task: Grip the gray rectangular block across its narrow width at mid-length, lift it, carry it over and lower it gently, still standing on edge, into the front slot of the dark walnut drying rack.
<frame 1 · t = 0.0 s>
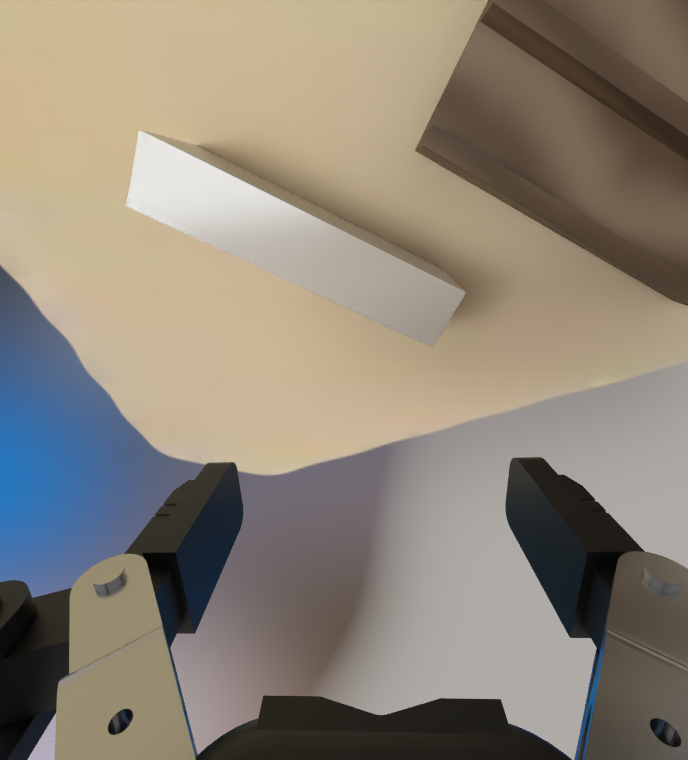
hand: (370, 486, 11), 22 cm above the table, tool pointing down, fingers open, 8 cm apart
rack: (631, 117, 25), on the table
gray rectangular block: (316, 235, 29), on the table
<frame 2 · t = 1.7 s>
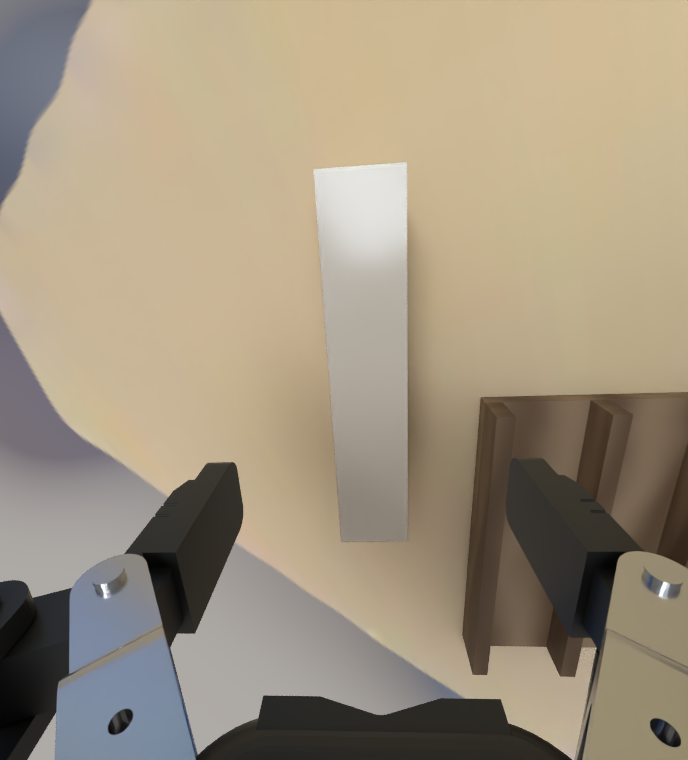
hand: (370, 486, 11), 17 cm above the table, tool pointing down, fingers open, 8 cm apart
rack: (567, 530, 31), on the table
gray rectangular block: (367, 347, 27), on the table
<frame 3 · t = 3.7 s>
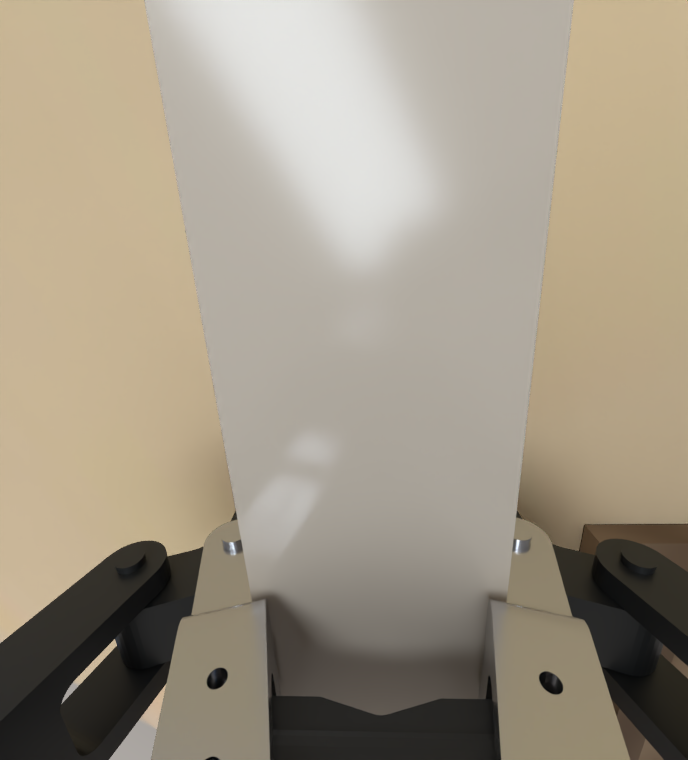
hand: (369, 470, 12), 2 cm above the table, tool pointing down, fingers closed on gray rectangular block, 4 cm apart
gray rectangular block: (368, 436, 14), on the table, touching gripper
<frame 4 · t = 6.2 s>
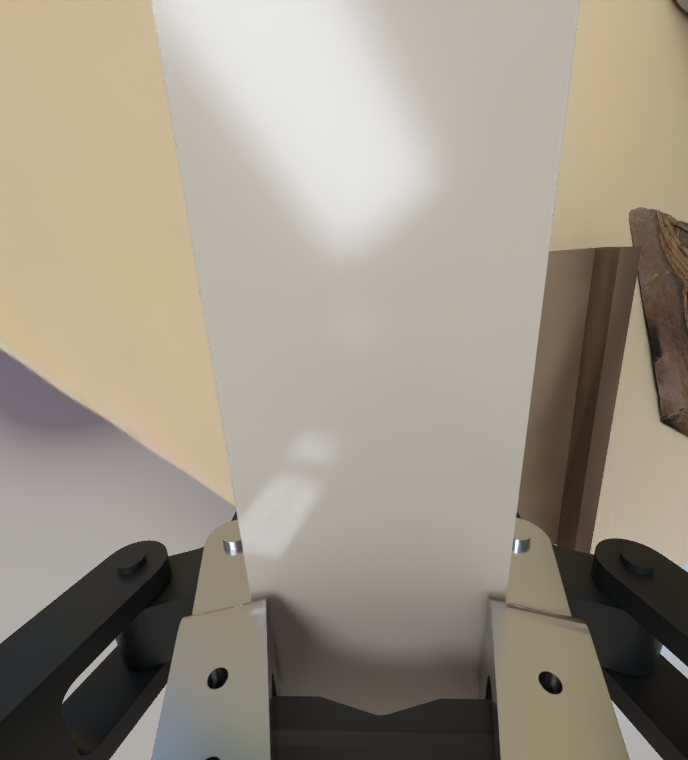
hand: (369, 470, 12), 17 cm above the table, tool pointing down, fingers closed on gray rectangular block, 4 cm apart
rack: (480, 415, 30), on the table
gray rectangular block: (368, 436, 14), point 15 cm above the table, touching gripper
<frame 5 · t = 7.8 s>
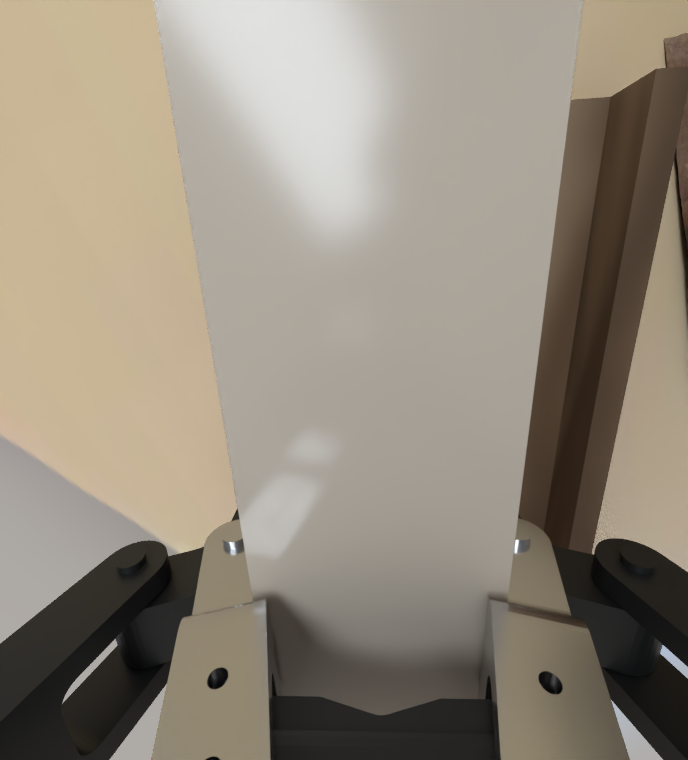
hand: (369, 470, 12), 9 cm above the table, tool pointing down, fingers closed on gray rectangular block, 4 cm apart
rack: (433, 374, 20), on the table
gray rectangular block: (368, 437, 14), point 7 cm above the table, touching gripper
when the fingers open (4 cm above the table, at t = 9.2 s): gray rectangular block drops 1 cm, resting on rack.
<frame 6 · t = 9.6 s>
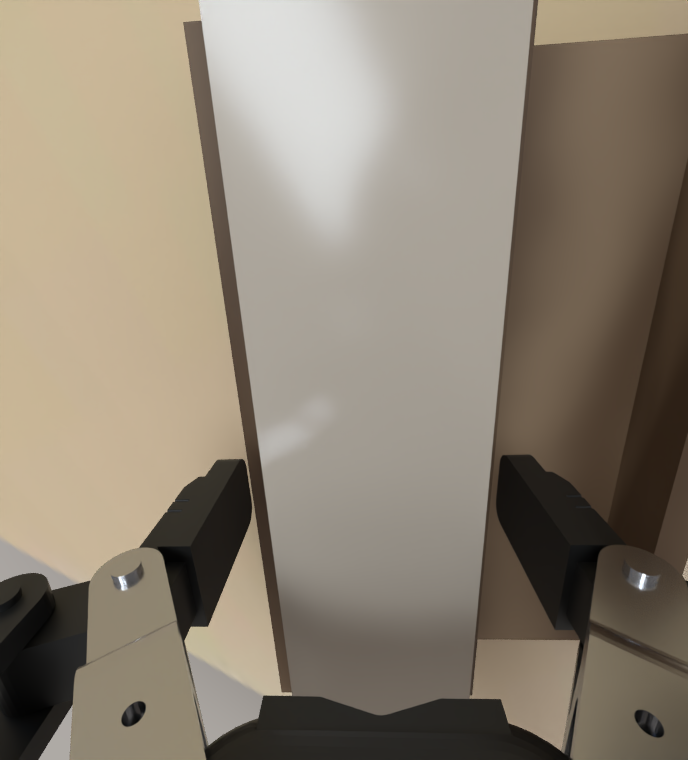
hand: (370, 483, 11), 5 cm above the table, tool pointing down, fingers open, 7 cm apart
rack: (452, 410, 16), on the table
gray rectangular block: (368, 422, 15), point 1 cm above the table, touching rack
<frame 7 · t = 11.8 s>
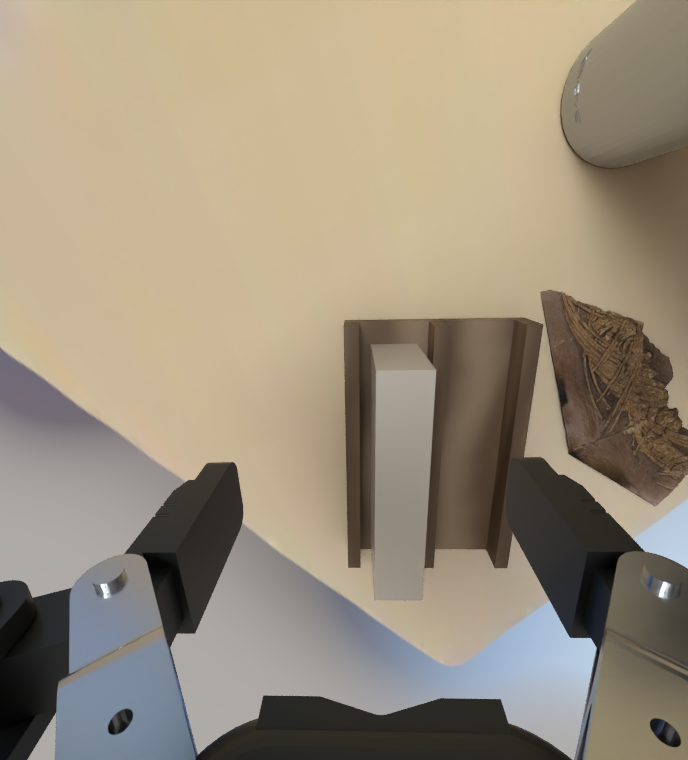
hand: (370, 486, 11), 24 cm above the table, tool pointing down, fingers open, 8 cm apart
rack: (426, 441, 37), on the table
wooden fragment: (608, 400, 35), on the table
gray rectangular block: (391, 446, 36), point 1 cm above the table, touching rack
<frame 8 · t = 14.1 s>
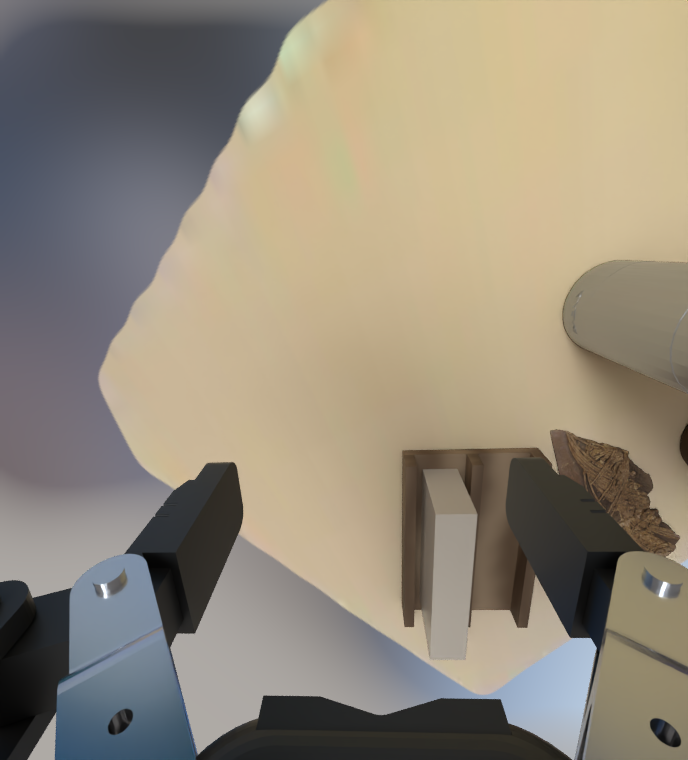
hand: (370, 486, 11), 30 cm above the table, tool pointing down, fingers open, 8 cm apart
rack: (463, 532, 48), on the table
wooden fragment: (604, 501, 46), on the table
gray rectangular block: (437, 538, 47), point 1 cm above the table, touching rack
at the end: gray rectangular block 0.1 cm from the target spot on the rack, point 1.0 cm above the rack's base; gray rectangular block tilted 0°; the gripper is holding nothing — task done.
